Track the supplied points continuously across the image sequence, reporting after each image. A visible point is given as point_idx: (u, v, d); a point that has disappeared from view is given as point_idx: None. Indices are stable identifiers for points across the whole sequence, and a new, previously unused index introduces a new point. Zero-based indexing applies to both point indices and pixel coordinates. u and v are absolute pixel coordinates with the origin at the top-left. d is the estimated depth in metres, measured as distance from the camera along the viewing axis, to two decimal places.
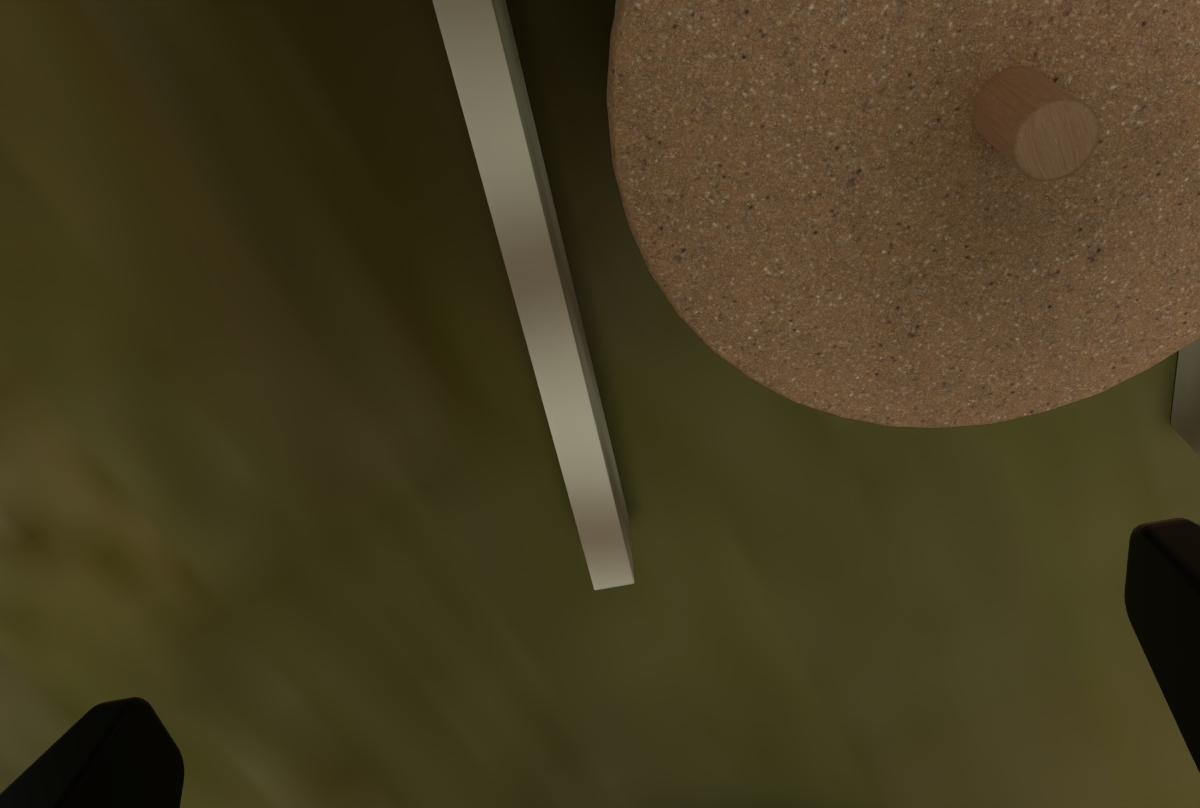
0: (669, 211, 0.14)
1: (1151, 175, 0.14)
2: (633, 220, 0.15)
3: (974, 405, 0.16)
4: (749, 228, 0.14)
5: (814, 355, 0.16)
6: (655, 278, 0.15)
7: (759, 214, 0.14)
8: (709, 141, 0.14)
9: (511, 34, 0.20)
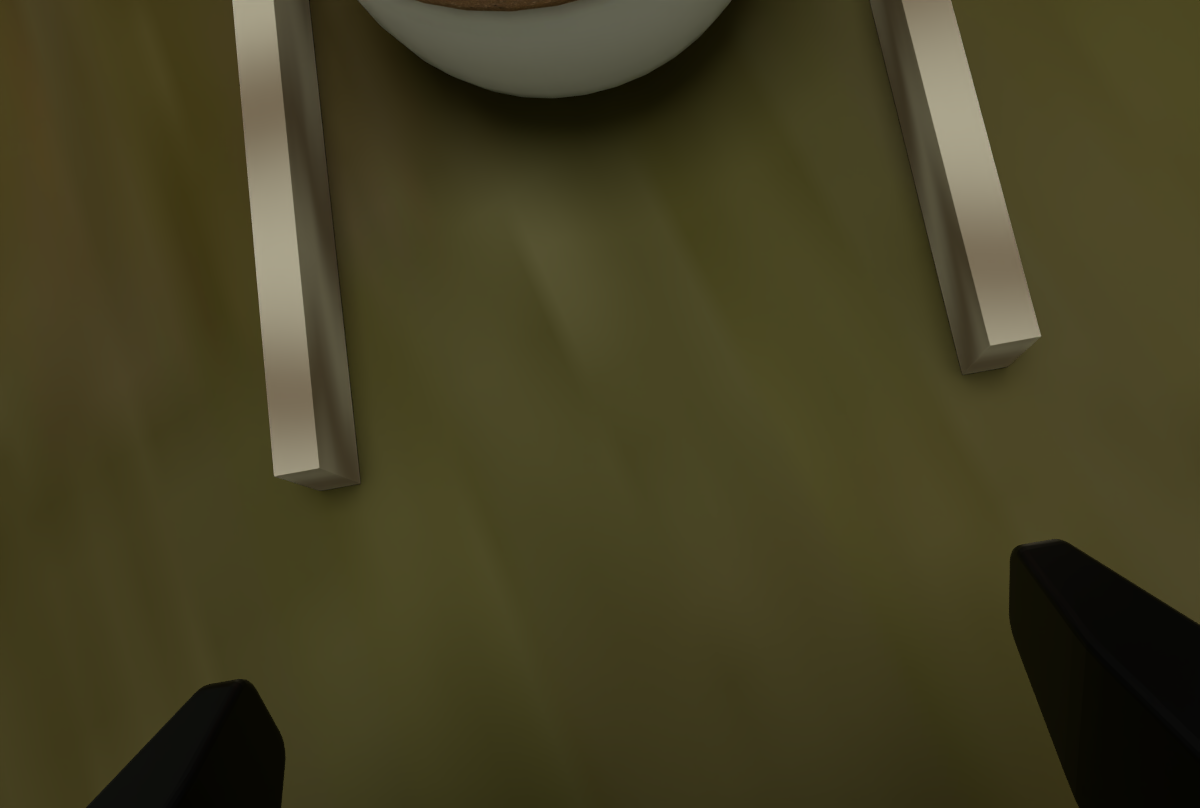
0: None
1: None
2: None
3: None
4: None
5: None
6: None
7: None
8: None
9: (303, 0, 0.27)
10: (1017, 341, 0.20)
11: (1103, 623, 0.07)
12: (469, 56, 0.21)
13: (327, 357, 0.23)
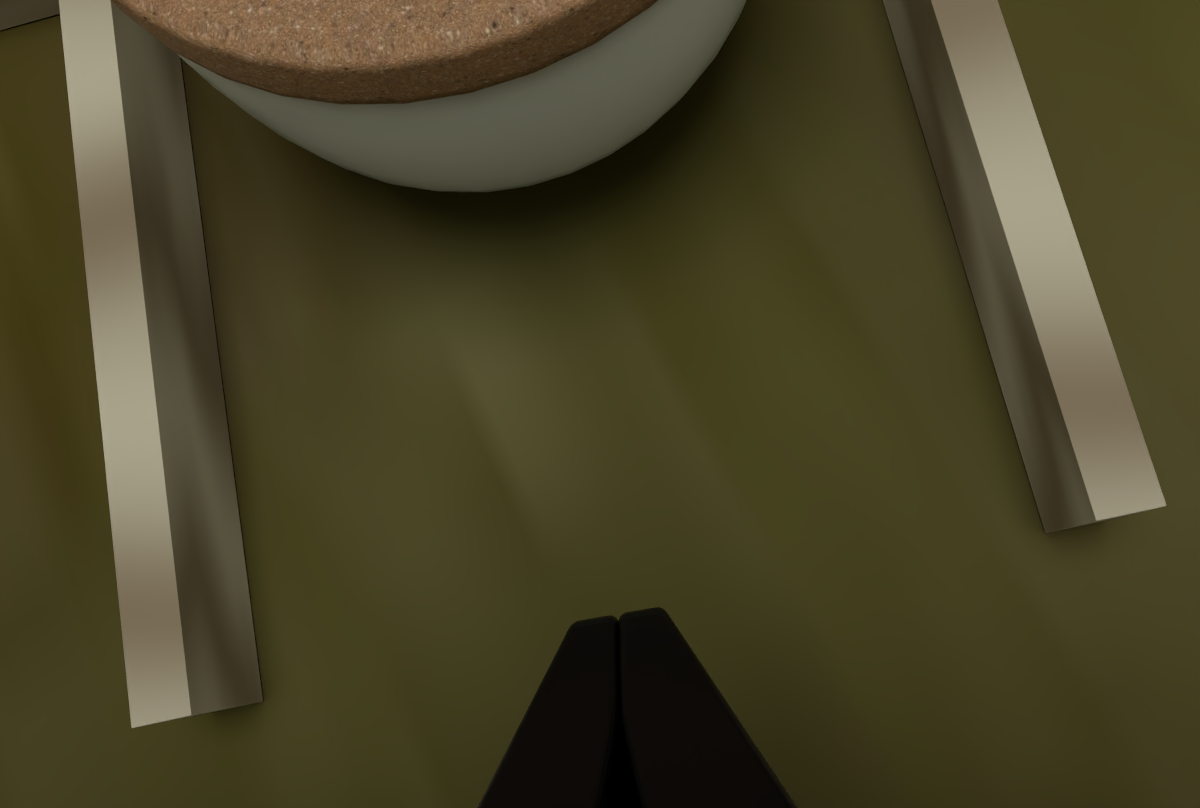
0: None
1: None
2: None
3: (410, 13, 0.12)
4: None
5: None
6: None
7: None
8: None
9: (172, 67, 0.21)
10: (1133, 512, 0.15)
11: (644, 699, 0.08)
12: (362, 155, 0.15)
13: (207, 545, 0.18)
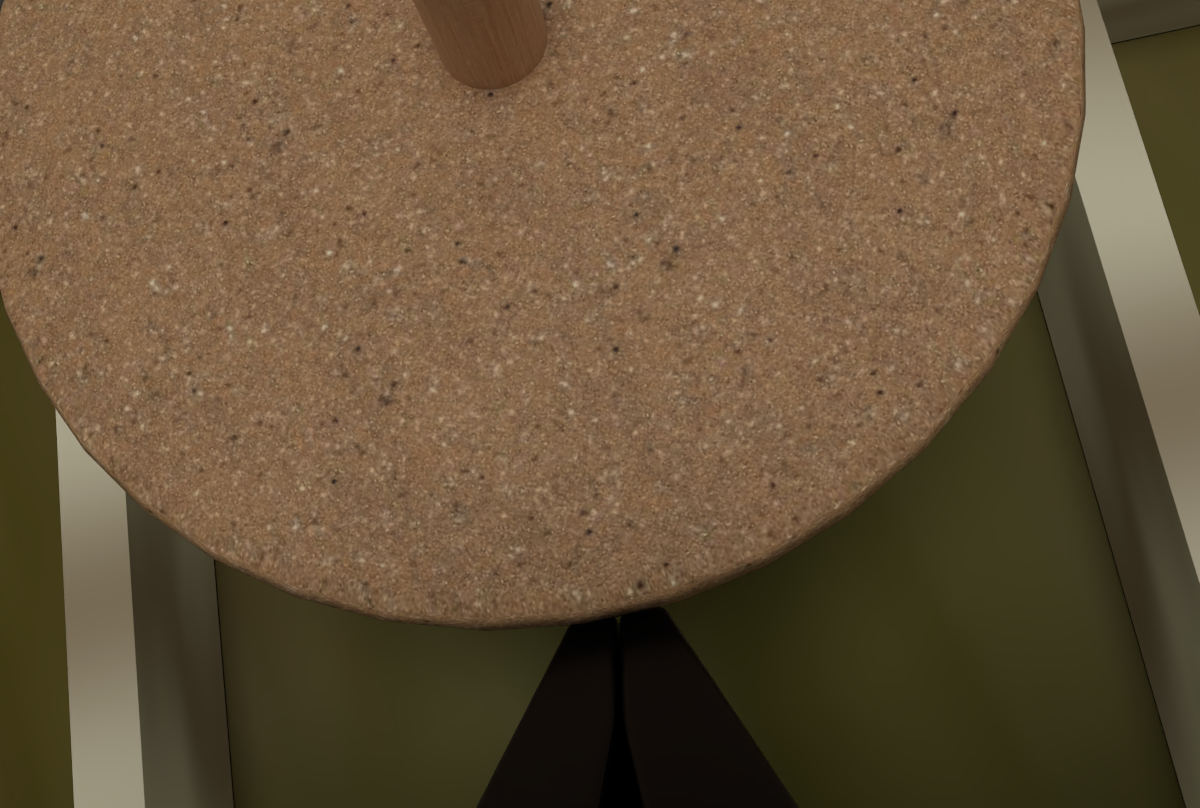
0: (28, 201, 0.10)
1: (729, 130, 0.09)
2: None
3: (521, 559, 0.09)
4: (132, 219, 0.10)
5: (229, 441, 0.09)
6: (9, 319, 0.10)
7: (145, 196, 0.10)
8: (87, 99, 0.10)
9: None
10: None
11: (645, 699, 0.08)
12: None
13: None
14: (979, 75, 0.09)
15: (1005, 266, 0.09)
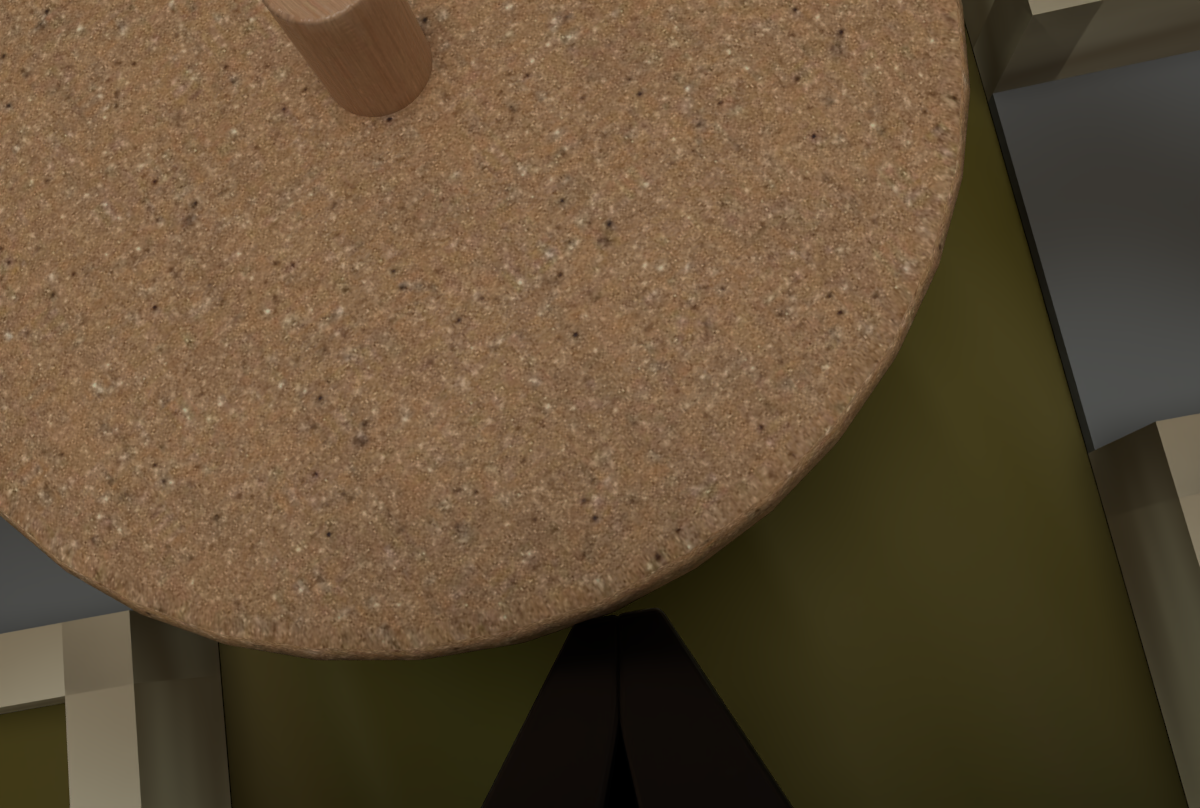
0: None
1: (631, 98, 0.09)
2: None
3: (535, 562, 0.08)
4: (58, 327, 0.09)
5: (212, 523, 0.09)
6: None
7: (66, 301, 0.09)
8: None
9: None
10: None
11: (641, 699, 0.08)
12: None
13: None
14: None
15: (926, 164, 0.09)
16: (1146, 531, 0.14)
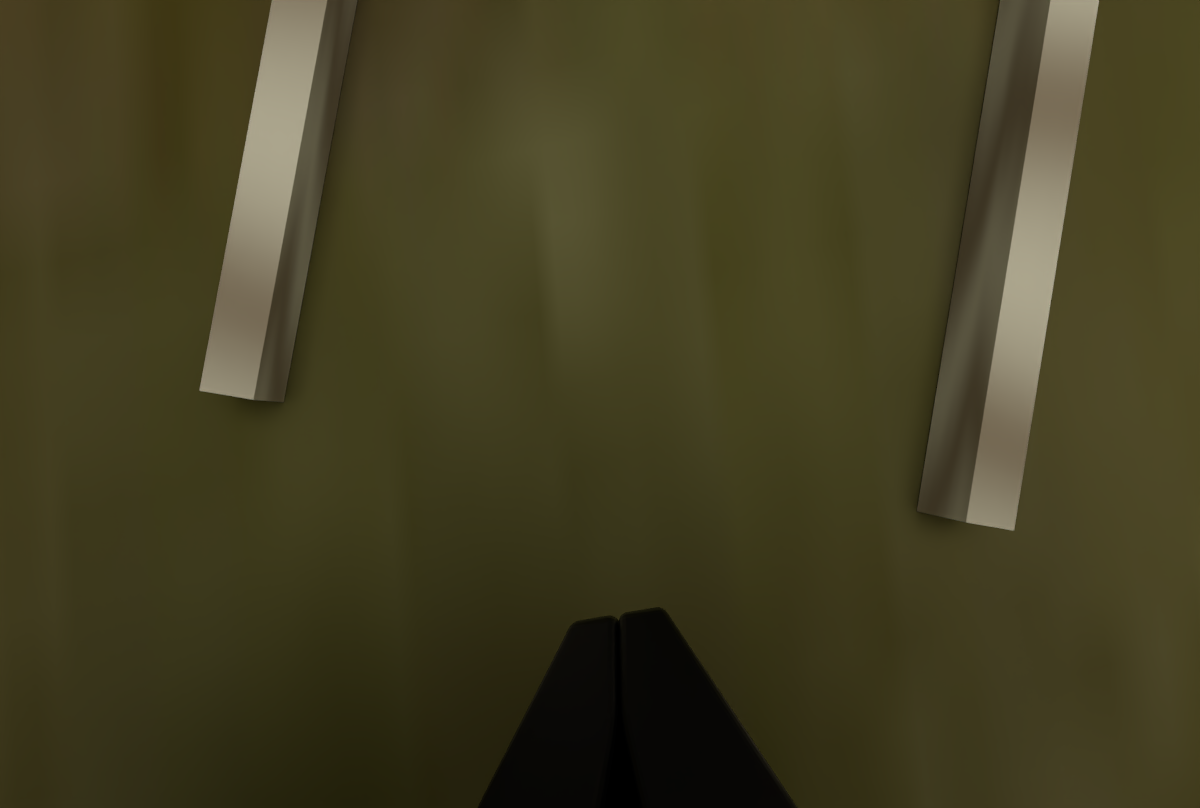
0: None
1: None
2: None
3: None
4: None
5: None
6: None
7: None
8: None
9: None
10: (991, 526, 0.20)
11: (644, 699, 0.08)
12: None
13: (293, 264, 0.20)
14: None
15: None
16: None
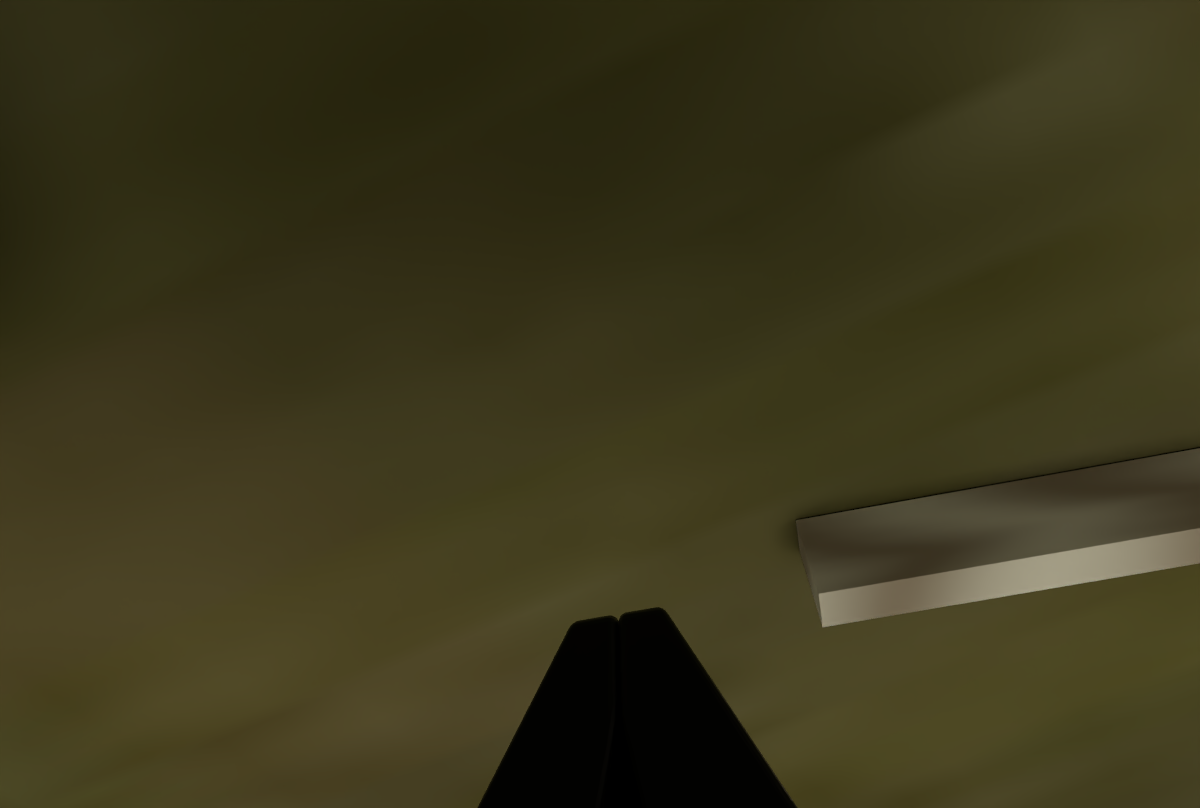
0: None
1: None
2: None
3: None
4: None
5: None
6: None
7: None
8: None
9: None
10: (820, 610, 0.22)
11: (644, 699, 0.08)
12: None
13: None
14: None
15: None
16: None
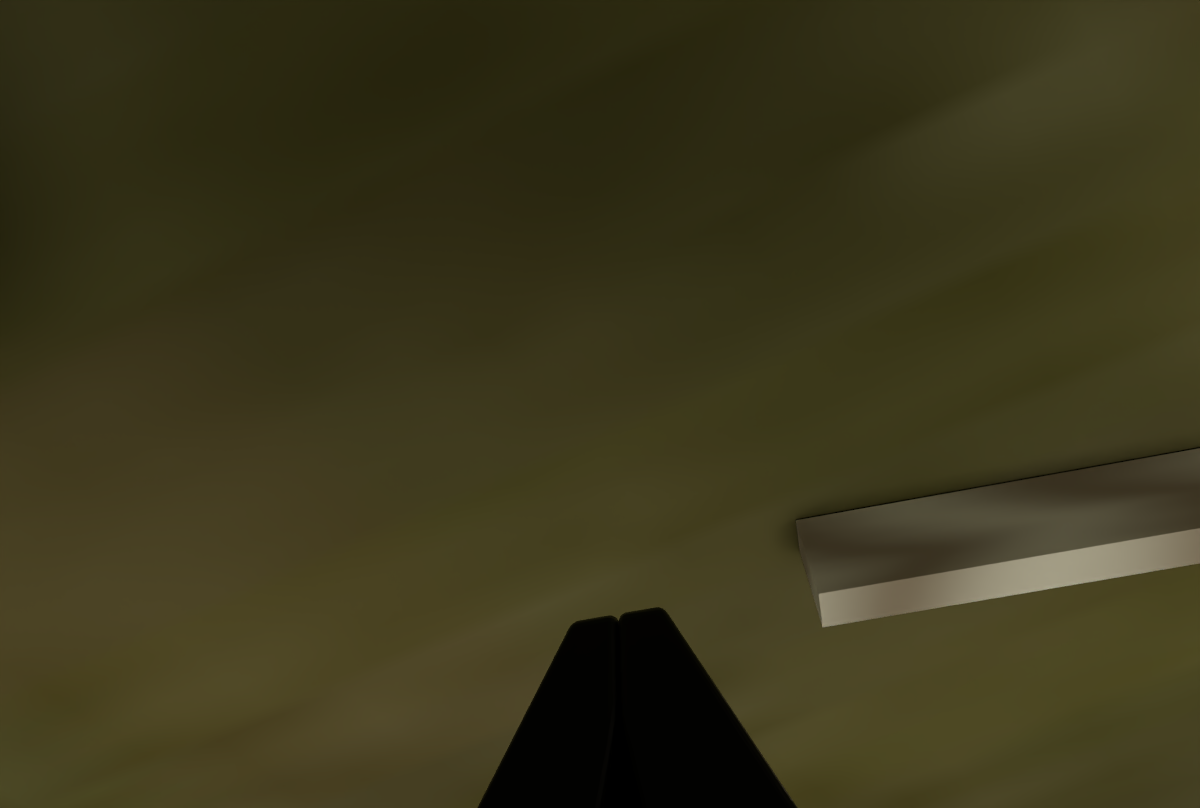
0: None
1: None
2: None
3: None
4: None
5: None
6: None
7: None
8: None
9: None
10: (820, 610, 0.22)
11: (644, 699, 0.08)
12: None
13: None
14: None
15: None
16: None
